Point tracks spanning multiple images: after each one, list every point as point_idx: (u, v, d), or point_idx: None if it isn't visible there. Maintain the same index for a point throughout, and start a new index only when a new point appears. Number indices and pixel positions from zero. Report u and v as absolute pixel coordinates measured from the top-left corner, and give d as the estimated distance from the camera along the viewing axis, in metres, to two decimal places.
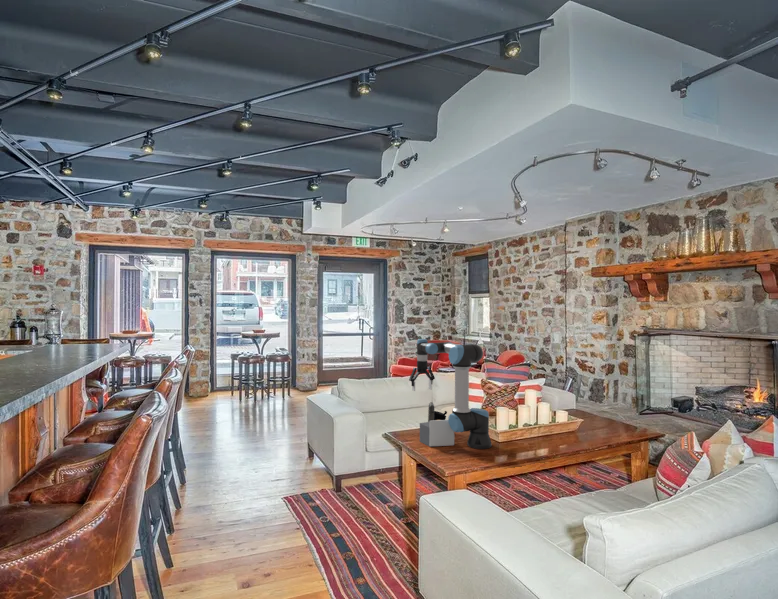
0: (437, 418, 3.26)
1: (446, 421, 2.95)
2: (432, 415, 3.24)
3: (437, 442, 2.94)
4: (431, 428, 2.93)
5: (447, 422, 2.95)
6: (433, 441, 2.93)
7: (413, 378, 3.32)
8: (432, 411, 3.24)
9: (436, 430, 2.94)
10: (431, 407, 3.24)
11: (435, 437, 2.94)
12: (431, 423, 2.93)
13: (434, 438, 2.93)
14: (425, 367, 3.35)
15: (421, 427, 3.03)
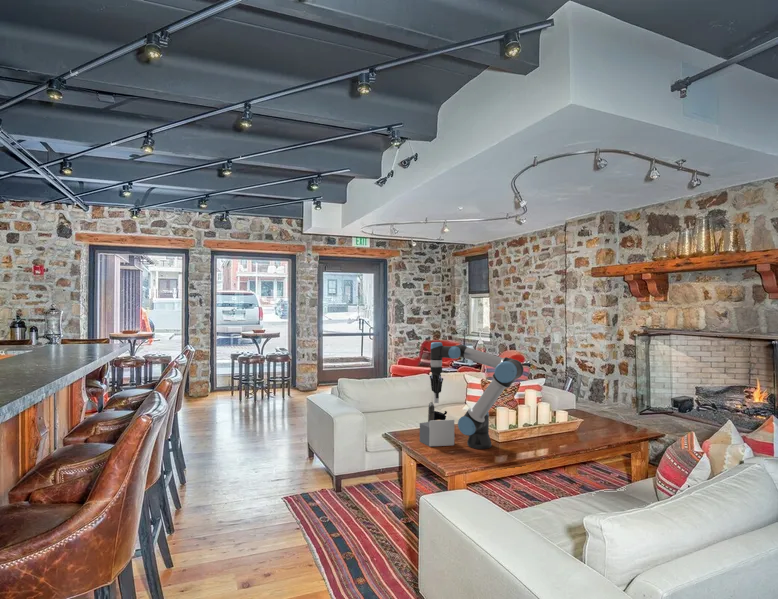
0: (437, 418, 3.26)
1: (446, 421, 2.95)
2: (432, 415, 3.24)
3: (437, 442, 2.94)
4: (431, 428, 2.93)
5: (447, 422, 2.95)
6: (433, 441, 2.93)
7: None
8: (432, 411, 3.24)
9: (436, 430, 2.94)
10: (431, 407, 3.24)
11: (435, 437, 2.94)
12: (431, 423, 2.93)
13: (434, 438, 2.93)
14: (437, 374, 2.97)
15: (421, 427, 3.03)
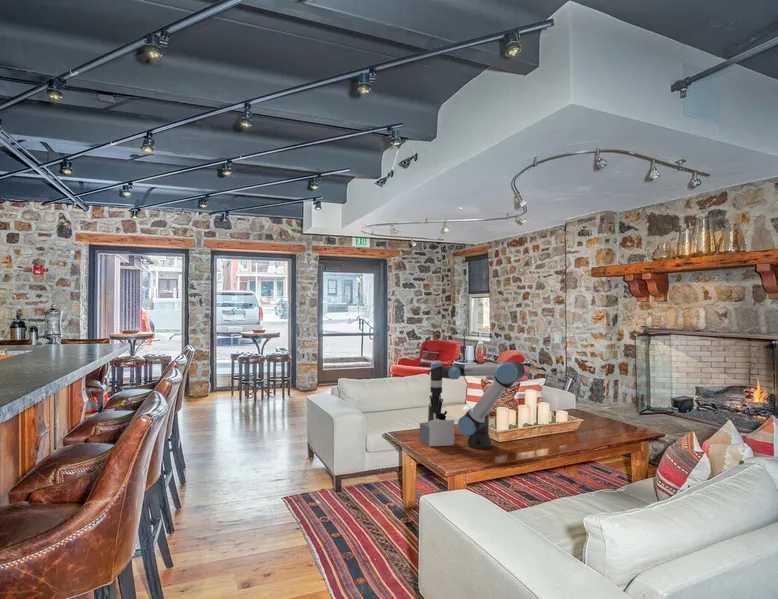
0: None
1: (446, 421, 2.95)
2: (432, 415, 3.24)
3: (437, 442, 2.94)
4: (431, 428, 2.93)
5: (447, 422, 2.95)
6: (433, 441, 2.93)
7: None
8: (432, 411, 3.24)
9: (436, 430, 2.94)
10: None
11: (435, 437, 2.94)
12: (431, 423, 2.93)
13: (434, 438, 2.93)
14: (437, 394, 2.97)
15: (421, 427, 3.03)
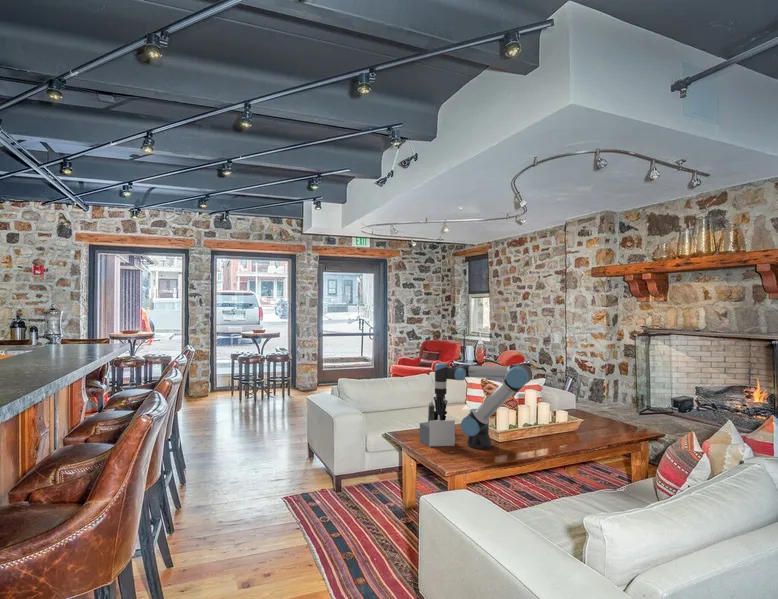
0: (437, 418, 3.26)
1: (446, 421, 2.94)
2: (432, 415, 3.24)
3: (437, 442, 2.93)
4: (431, 428, 2.93)
5: (447, 422, 2.94)
6: (433, 441, 2.93)
7: None
8: (432, 411, 3.24)
9: (436, 430, 2.93)
10: (431, 407, 3.24)
11: (435, 437, 2.93)
12: (431, 423, 2.93)
13: (433, 438, 2.93)
14: (441, 396, 2.93)
15: (421, 427, 3.03)
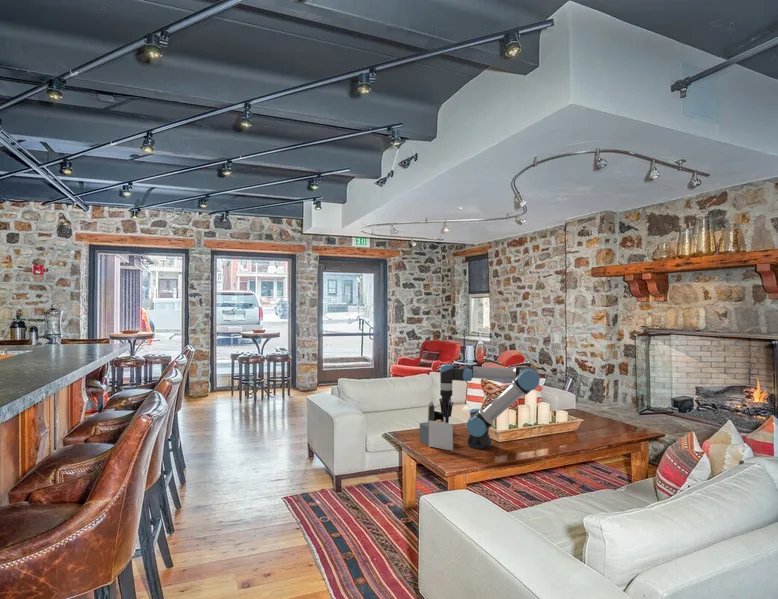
0: (437, 418, 3.26)
1: (444, 424, 2.88)
2: (432, 415, 3.24)
3: (435, 444, 2.90)
4: (430, 428, 2.93)
5: (445, 425, 2.87)
6: (432, 442, 2.92)
7: None
8: (432, 411, 3.24)
9: (435, 431, 2.91)
10: (431, 407, 3.24)
11: (433, 438, 2.91)
12: (430, 423, 2.93)
13: (432, 439, 2.92)
14: (447, 397, 2.87)
15: (421, 427, 3.03)
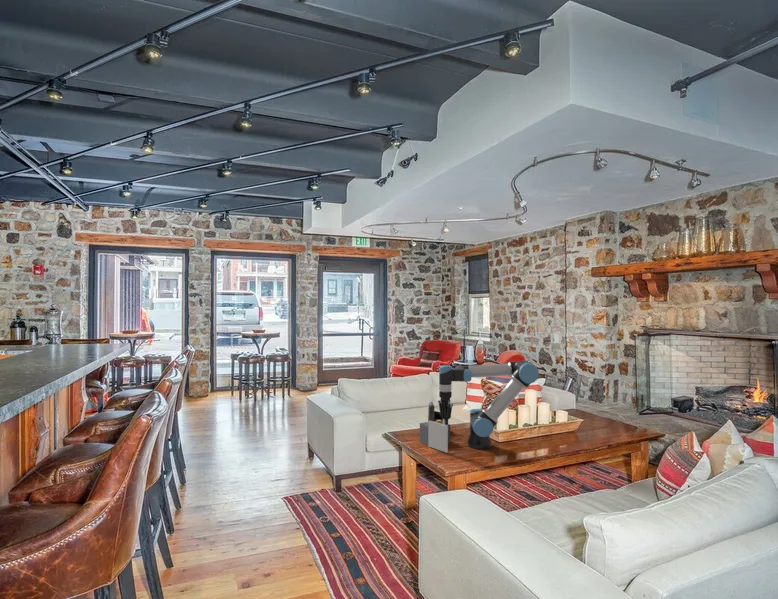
0: (437, 418, 3.26)
1: (440, 425, 2.85)
2: (432, 415, 3.24)
3: (433, 444, 2.89)
4: (429, 428, 2.93)
5: (441, 426, 2.84)
6: (431, 442, 2.91)
7: None
8: (432, 411, 3.24)
9: (433, 432, 2.90)
10: (431, 407, 3.24)
11: (432, 438, 2.91)
12: (429, 423, 2.93)
13: (431, 439, 2.91)
14: (446, 399, 2.82)
15: (421, 427, 3.03)
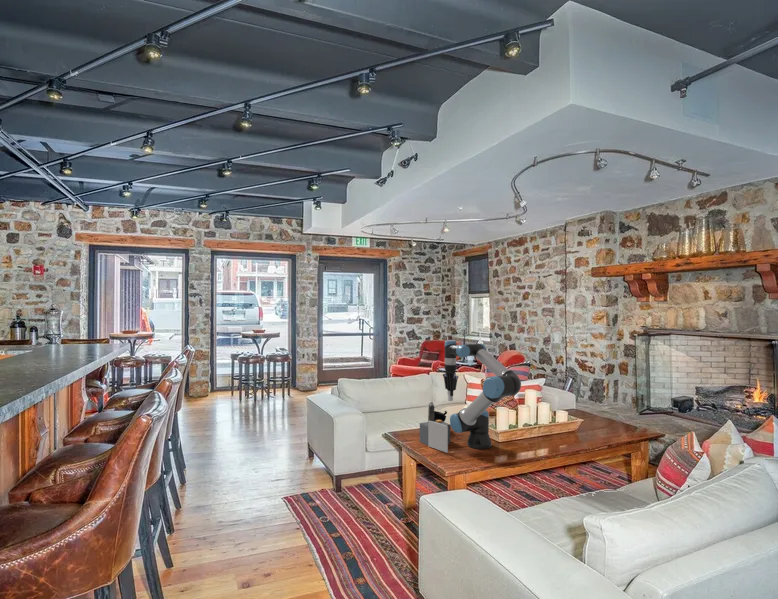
0: (437, 418, 3.26)
1: (440, 425, 2.85)
2: (432, 415, 3.24)
3: (433, 444, 2.89)
4: (429, 428, 2.93)
5: (441, 426, 2.84)
6: (431, 442, 2.91)
7: None
8: (432, 411, 3.24)
9: (433, 432, 2.90)
10: (431, 407, 3.24)
11: (432, 438, 2.91)
12: (429, 423, 2.93)
13: (431, 439, 2.91)
14: (452, 372, 2.99)
15: (421, 427, 3.03)
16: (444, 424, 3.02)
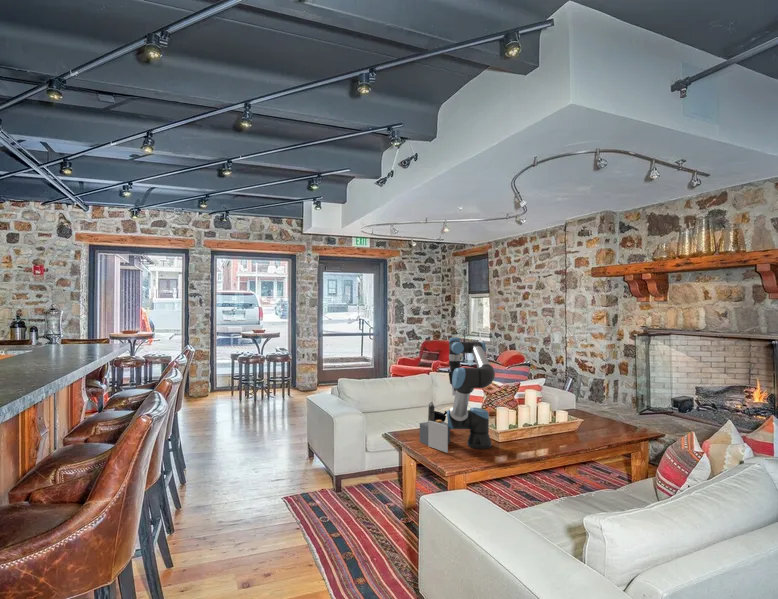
0: (437, 418, 3.26)
1: (440, 425, 2.85)
2: (432, 415, 3.24)
3: (433, 444, 2.89)
4: (429, 428, 2.93)
5: (441, 426, 2.84)
6: (431, 442, 2.91)
7: None
8: (432, 411, 3.24)
9: (433, 432, 2.90)
10: (431, 407, 3.24)
11: (432, 438, 2.91)
12: (429, 423, 2.93)
13: (431, 439, 2.91)
14: (455, 367, 3.12)
15: (421, 427, 3.03)
16: (444, 424, 3.02)
